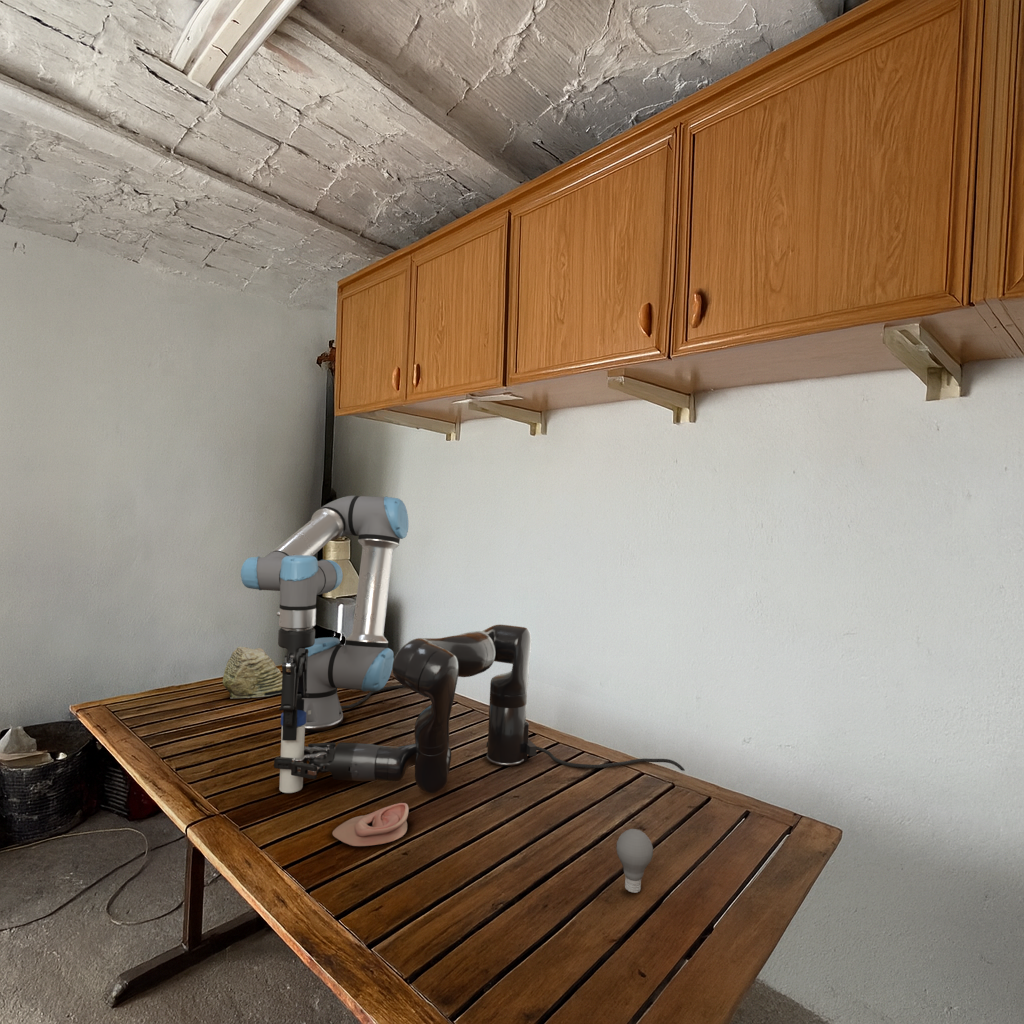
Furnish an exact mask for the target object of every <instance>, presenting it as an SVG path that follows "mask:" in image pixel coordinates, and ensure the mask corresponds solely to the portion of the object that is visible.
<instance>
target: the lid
mask: <svg viewBox="0 0 1024 1024" xmlns="http://www.w3.org/2000/svg"><path fill="white" fill-rule="evenodd" d="M306 715H307V713H306V712H305V711H302V710H297V727H298V726H302V725H304V724H305V723H306ZM280 725H281V727H282V726H283V712H281V713H280Z"/></svg>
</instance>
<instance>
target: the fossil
mask: <svg viewBox="0 0 1024 1024" xmlns="http://www.w3.org/2000/svg"><path fill="white" fill-rule="evenodd" d="M222 676H223V677H222V685H223V687H224V688H225V690H226V691H228V693H229V698H230V699H250V698H264V697H271V696H275V695H281V694H282V672H281V669H279V668H278V667H277V665H276V663H275V662H274V660H273V659H272V658H271V657H270V656H269V655H268V654H267V653H266V652H265V650H264V649H263V648H260V647H258V648H251V647H247V646H246V647H245V646H238V647H237V648H236V649H235V650H233V651H232V653H231V656H230V657H229V659H228V660H227V663H226V666H225V668H224V671H223V675H222Z"/></svg>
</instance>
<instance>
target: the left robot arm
mask: <svg viewBox="0 0 1024 1024" xmlns="http://www.w3.org/2000/svg"><path fill="white" fill-rule="evenodd" d="M408 533H409V514H408V510H407V507H406V504H405V503H404V501H403V500H402V499H400V498H398V497H392V496H375V495H374V496H371V495H368V496H367V495H346V496H343V497H340V498H337V499H334V500H332V501H329V502H328V503H326V504H325V505H322V506H321V507H320V508H318V509H317V510H316V511H314V512H313V514H312V516H311V518H310V520H309V521H308V522H307V523H305V524H304V525H303V526H301V527H300V528H299V529H298V530H296V531H295V532H294V533H293V534H291V535H290V536H289V537H287V539H285V540H284V541H282V543H279V545H278V546H277V547H275V548H274V549H273V550H272V551H270V552H268V553H267V554H266V555H265V556H264V557H263V556H262V557H261V556H251V557H248V558H246V559H245V560H244V561H243V564H242V565H241V568H240V577H241V582H242V584H243V586H244V587H245V588H247V589H252V590H258V591H271V592H272V591H273V592H279V607H278V608H279V611H276V616H277V617H279V619H278V627H280V628H279V629H278V633H277V634H278V635H277V645H278V647H280V648H282V649H286V650H287V651H286V655H284V661H283V662H282V665H281V671H282V672H281V673H282V693H280V695H281V697H280V707H279V708H278V710H279V711H282V713H283V736H282V740H296V735H297V710H302V711H305V712H306V713H307V715H306V723H305V733H316V732H325V731H329V730H332V729H335V728H337V727H339V726H340V725H342V723H343V722H344V714H343V710H346V709H347V710H348V709H352V708H354V707H357V706H358V705H360V704H362V703H363V702H365V701H367V700H368V699H369V698H370V697H371V696H372V695H373V694H375V693H378V692H383V691H387V690H388V691H389V690H395V689H403V688H406V687H405V686H403V685H402V684H397V685H390V686H386V685H387V684H388V681H389V679H390V677H391V675H392V672H393V670H392V666H393V661H394V658H395V655H394V651H393V650H392V649H391V648H389V641H388V640H387V637H385V633H384V632H385V624H386V618H387V617H386V616H387V608H388V599H389V592H390V591H389V590H390V581H391V574H392V573H391V572H392V564H393V555H394V550H395V549H397V548H398V547H399V546H400V543H401V541H400V540H403V539H405V538H406V537H407V535H408ZM342 536H343V537H344V536H355V537H358V538H357V543H359V545H360V546H361V547H362V549H361V556H360V565H359V575H358V580H357V589H356V599H355V607H354V612H353V613H354V615H353V622H352V628H351V629H352V631H351V633H350V634H349V635H348V636H347V637H346V638H345V640H344V641H345V642H344V644H341V641H340V639H339V638H338V637H334V636H331V637H330V636H329V637H328V636H327V637H318V638H316V629H315V626H316V624H317V596H319V595H320V596H321V595H323V594H328V593H331V592H332V591H334V590H336V589H337V588H338V587H340V586H341V584H342V582H343V577H344V574H343V569H342V567H341V566H340V564H339V563H338V562H336V561H334V560H331V559H320V560H318V558H317V557H316V556H315V555H316V554H317V553H318V552H319V551H320V550H321V549H322V548H324V547H325V546H326V545H327V544H328V543H329V542H331V541H335V540H337V539H338V538H340V537H342ZM338 689H342V690H343V689H345V690H351V691H353V690H354V691H362V692H368V693H367V694H366V696H364V697H363V698H362V699H359V700H358V701H355V702H354V703H352V704H347V705H341V702H340V699H339V695H338Z"/></svg>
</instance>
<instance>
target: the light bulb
mask: <svg viewBox="0 0 1024 1024" xmlns="http://www.w3.org/2000/svg"><path fill="white" fill-rule="evenodd" d="M615 849H616V854H617V857H618V859H619V861H620V863H621V865H622V867H623V873H624V874H623V875H624V876H625V878H624V888H625V890H627V891H628V892H630V893H634V894H635V893H639V892H640V891H641V889H642V887H641V886H642V879H643V877H644V875H645V871H646V868H647V867H648V866H649V864H650V863H651V861H652V859H653V855H654V847H653V843H652V841H651V838H649V836H648V835H647V834H646V833H645V832H643V831H642V830H641V829H636V828H629V829H627V830H625V831H623V832H622V833H621V834H620V835H619V837H618V839H617V841H616V847H615Z"/></svg>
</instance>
